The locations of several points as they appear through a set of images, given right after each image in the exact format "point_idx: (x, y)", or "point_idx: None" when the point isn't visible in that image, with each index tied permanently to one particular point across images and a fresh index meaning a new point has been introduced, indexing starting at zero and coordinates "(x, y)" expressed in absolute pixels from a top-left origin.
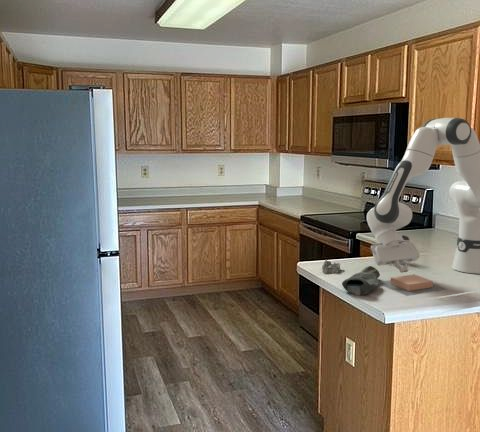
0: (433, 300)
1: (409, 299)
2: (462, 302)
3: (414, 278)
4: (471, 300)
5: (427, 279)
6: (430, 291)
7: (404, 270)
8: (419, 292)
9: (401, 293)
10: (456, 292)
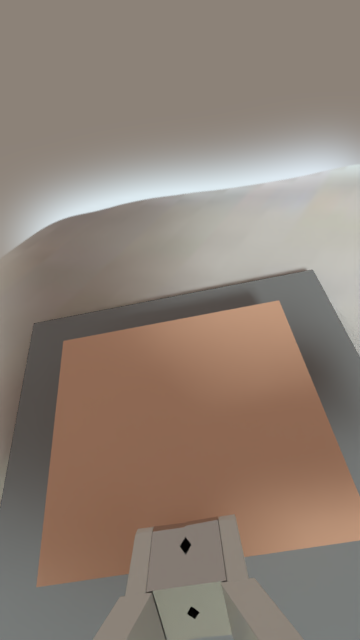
0: (203, 232)
1: (309, 251)
2: (112, 209)
3: (143, 431)
4: (64, 222)
5: (67, 380)
6: (145, 306)
7: (207, 518)
8: (214, 301)
9: (330, 303)
10: (25, 300)
